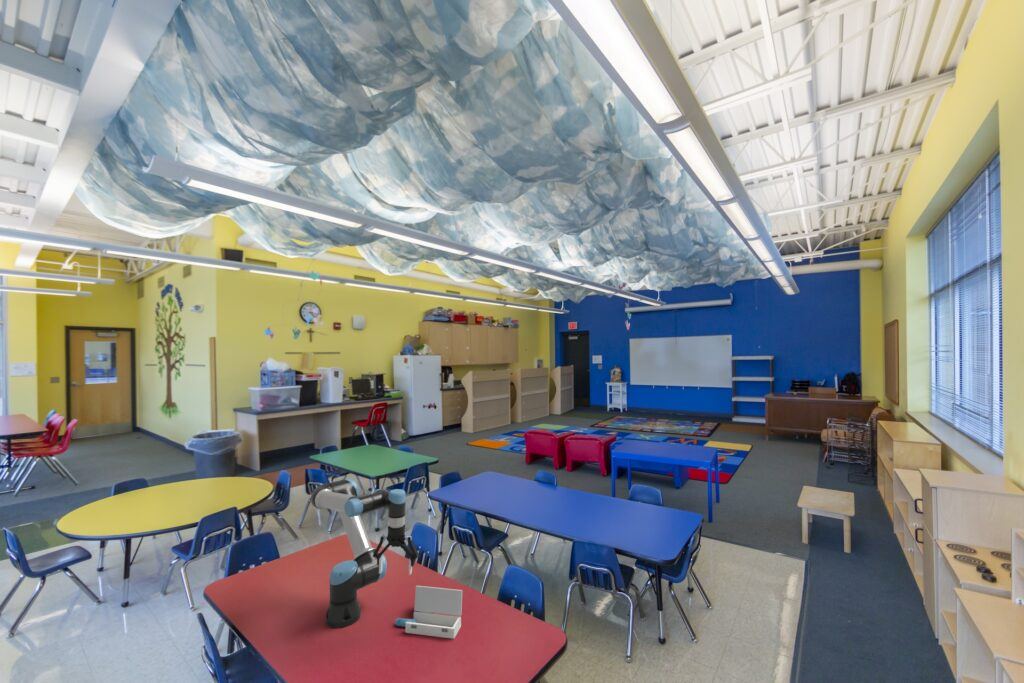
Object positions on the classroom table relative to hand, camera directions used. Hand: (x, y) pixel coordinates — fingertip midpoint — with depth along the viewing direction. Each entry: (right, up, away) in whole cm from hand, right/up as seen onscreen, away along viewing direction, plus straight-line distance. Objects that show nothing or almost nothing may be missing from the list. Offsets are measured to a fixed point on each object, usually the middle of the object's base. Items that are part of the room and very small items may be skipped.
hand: (395, 572), depth 196 cm
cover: (+20, -11, -3) cm, 23 cm away
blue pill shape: (+6, -21, -5) cm, 22 cm away
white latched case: (+19, -20, -8) cm, 29 cm away
